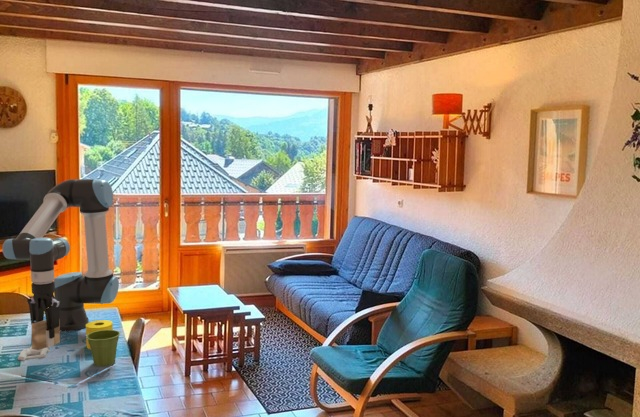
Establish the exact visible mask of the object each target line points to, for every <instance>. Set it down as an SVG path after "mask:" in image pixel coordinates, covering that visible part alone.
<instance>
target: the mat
mask: <svg viewBox="0 0 640 417" xmlns="http://www.w3.org/2000/svg"><path fill="white" fill-rule="evenodd" d="M20 377H22V378H25V379H27V378H28V379H32V380H38V381H43V382H47V383H54V381H51V380H48V379H47V380H46V379H41V378H36V377H32V376H31V377H30V376H27V375H20Z"/></svg>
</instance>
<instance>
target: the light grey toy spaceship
mask: <svg viewBox="0 0 640 417" xmlns="http://www.w3.org/2000/svg"><path fill="white" fill-rule="evenodd" d="M49 352H50V348H47V347H46V348H43V349H40V350H34V349H32V345H31V346H29V347H28V348H25V349H23V350H21V351H20V353H19V355H18V357H17V360H18V361H23V362H25V361H26V360H33V359H39V360H40V359H43V358H46V357H47V354H48V353H49Z"/></svg>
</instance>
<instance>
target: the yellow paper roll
mask: <svg viewBox="0 0 640 417" xmlns="http://www.w3.org/2000/svg"><path fill="white" fill-rule="evenodd" d="M113 324H114V323H113V321H111V320H107V319H101V320H100V319H97V320H92V321H89V323H87V324H86V327H85V336H86V335H88V334H89V333H92V332H95V331H100V330H114V325H113ZM85 339H86V348H87V349H88V350H91V348H90V344H89V342H88V339H87V338H86V337H85Z"/></svg>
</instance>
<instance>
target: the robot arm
mask: <svg viewBox="0 0 640 417" xmlns="http://www.w3.org/2000/svg"><path fill="white" fill-rule="evenodd" d="M113 204H114V192H113V188H112V186H111V184H110V183H109V181H107V180H106V179H99V178H88V179H87V178H86V179H83V178H81V179H78V178H77V179H76V178H75V179H74V178H73V179H70V178H69V179H67V180H64V181H61V182H60V183H58V184H56V185H54V187H52V188H51V189H50V190H49V191H48V192H47V193H46V194H45V196H44V197H43V202H42V203H41V205H40V206H39V207H38V209H37V210H36V211H35V213H34V214H33V216H32V217H31V218H30V220H29V221H28V222H27V223H26V224H25V226H24V227H23V229H22V230H21V231H20V233H19V234H18V235H17V237H16V238H7V239H5V241H4V242H3V244H2V254H3V256H4V258H6V259H7V260H16V261H17V260H22V261H23V260H27V261H30V280H31V282H32V283H31V287H30V288H31V293H32V294H33V296H32V297H31V298H27V304H28V308H29V315H30V325H31V326H32V323H36V322H40V321H43V320H46V322H47V328H48V329H46V344H47V348H48V349H50V348H52V347H54V346H55V345H54V337H55V331H54V329H55V328H57V327H59V319H60V332H72V331H74V332H75V331H77V330H78V331H79V330H82V329H86V324H87V323H89V322H90V321H89V317H88V315H87V313H86V309H85V307H84V306H85V304H95V305H96V304H97V305H98V304H99V305H100V304H101V305H104V304H112V303H113V302H114V301H115V300H116V298H117V295H118V292H119V286H120V285H119V284H120V282H119V281H120V280H119V278H118V277H117V276H114V271H113V270H111V269H110V266H109V265H110V263H109V251H108V250H109V249H108V233H107V231H108V230H107V218H106V215H107V213H108V212H109V211H110V208H111V207H113ZM73 207H74V208H79V213H80V214H82V216H83V220H84V222H83V223H84V233H85V234H84V235H85V246H86V248H85V249H86V260H87V262H86V263H87V271H86V272H85V273H84V274H83V272H81V271H74V272H68V273H64V274H60V275H58V276H56V277H55V266H54V265H55V264H54V262H55V261H57V260H61V259H63V258H64V257H65V256H68V254H69V253H70V251H71V250H70V249H71V245H70V243H69V240H67V239H65V238H63V237H55V238H53V239H52V238H51V237H44V236H45V235H46V234H47V233H48V231H49V229H50V228H51V226H52V225H53V224H54V222H55V221H56V219H58V216H59V215H60V213H64V212H65V211H66V210H67V209H68V208H73Z"/></svg>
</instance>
